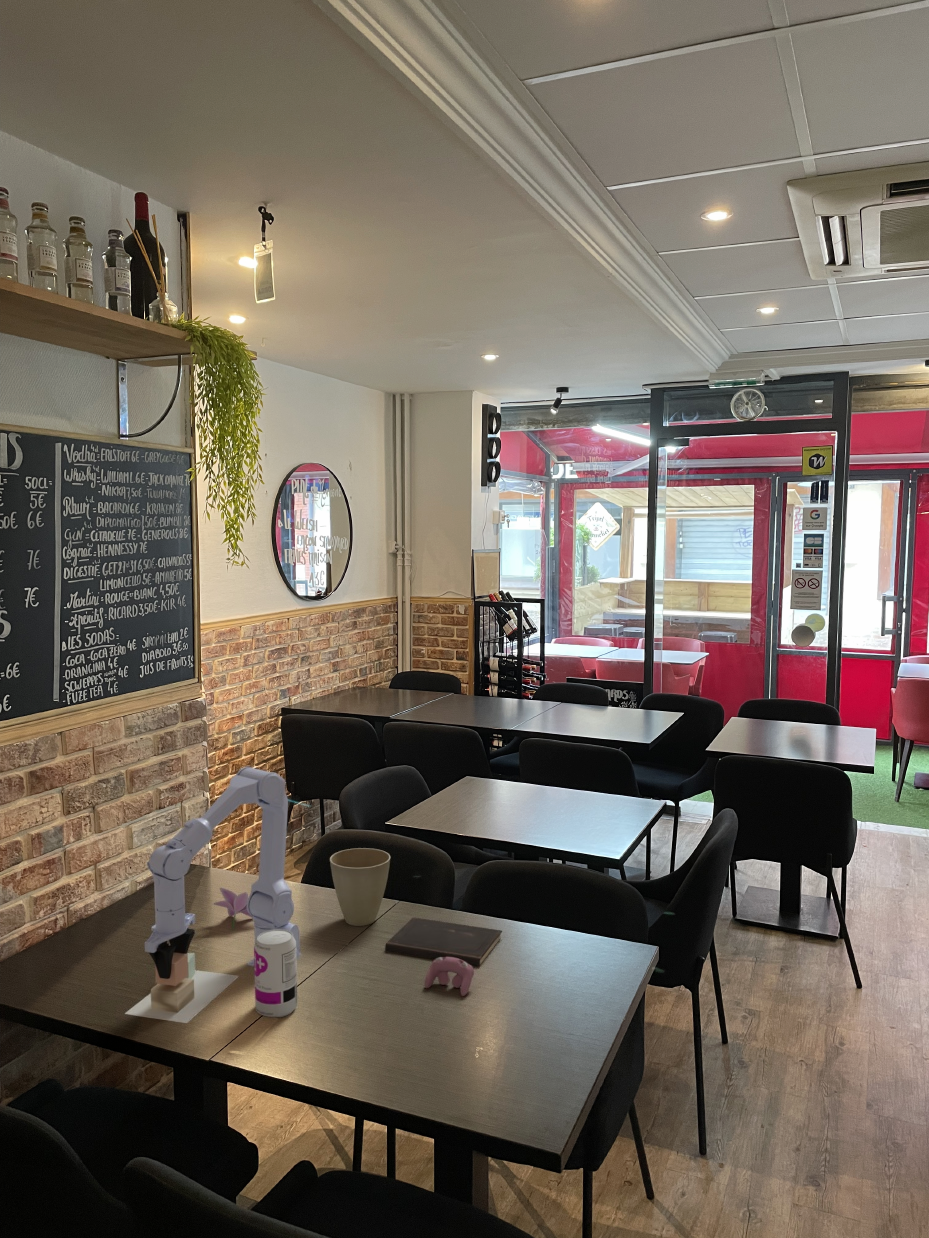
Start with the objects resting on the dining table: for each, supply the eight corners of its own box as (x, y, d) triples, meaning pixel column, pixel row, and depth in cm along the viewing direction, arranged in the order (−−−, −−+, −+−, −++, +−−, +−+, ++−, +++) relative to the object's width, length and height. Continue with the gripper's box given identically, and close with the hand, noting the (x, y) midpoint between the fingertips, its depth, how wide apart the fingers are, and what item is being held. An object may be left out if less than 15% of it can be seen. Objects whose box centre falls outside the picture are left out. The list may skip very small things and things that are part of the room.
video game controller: (472, 997, 187) (478, 962, 190) (464, 996, 184) (470, 960, 186) (430, 988, 191) (436, 953, 194) (421, 987, 188) (427, 952, 190)
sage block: (195, 973, 195) (194, 952, 194) (188, 982, 190) (188, 962, 190) (174, 973, 195) (174, 952, 194) (167, 982, 190) (167, 962, 190)
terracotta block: (188, 975, 183) (187, 954, 182) (175, 985, 178) (174, 963, 178) (168, 972, 184) (168, 951, 184) (155, 983, 180) (155, 961, 179)
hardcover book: (413, 926, 221) (413, 916, 221) (502, 939, 213) (502, 930, 212) (385, 953, 206) (384, 943, 206) (479, 969, 198) (479, 959, 198)
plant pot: (371, 936, 213) (370, 871, 212) (319, 926, 220) (317, 862, 218) (402, 913, 227) (401, 852, 225) (352, 904, 233) (351, 844, 232)
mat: (239, 977, 193) (239, 975, 193) (186, 1024, 174) (186, 1022, 174) (182, 969, 197) (182, 968, 197) (124, 1015, 178) (124, 1013, 178)
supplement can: (261, 1023, 174) (260, 948, 173) (251, 1004, 182) (249, 932, 181) (302, 1013, 178) (301, 940, 177) (290, 995, 185) (289, 924, 184)
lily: (271, 929, 220) (272, 889, 225) (235, 926, 211) (237, 884, 216) (236, 934, 226) (238, 895, 230) (200, 931, 217) (203, 890, 221)
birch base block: (194, 998, 184) (193, 979, 183) (177, 1012, 178) (177, 993, 178) (168, 994, 185) (168, 975, 185) (151, 1008, 180) (150, 989, 179)
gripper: (173, 891, 188) (175, 953, 189) (130, 918, 174) (132, 986, 175) (203, 894, 186) (205, 957, 187) (162, 922, 172) (164, 990, 173)
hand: (172, 971), depth 181 cm, fingers closed on terracotta block, 4 cm apart
